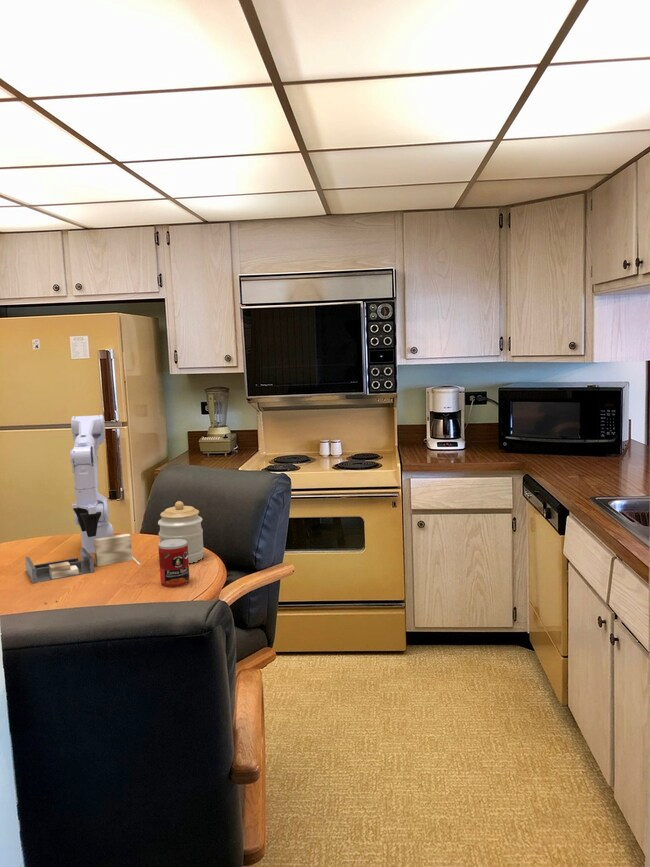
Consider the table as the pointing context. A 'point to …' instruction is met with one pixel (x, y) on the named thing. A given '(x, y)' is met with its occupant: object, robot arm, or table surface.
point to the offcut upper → (59, 567)
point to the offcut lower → (65, 572)
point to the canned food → (173, 562)
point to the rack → (42, 570)
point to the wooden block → (113, 549)
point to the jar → (183, 528)
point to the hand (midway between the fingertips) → (88, 533)
